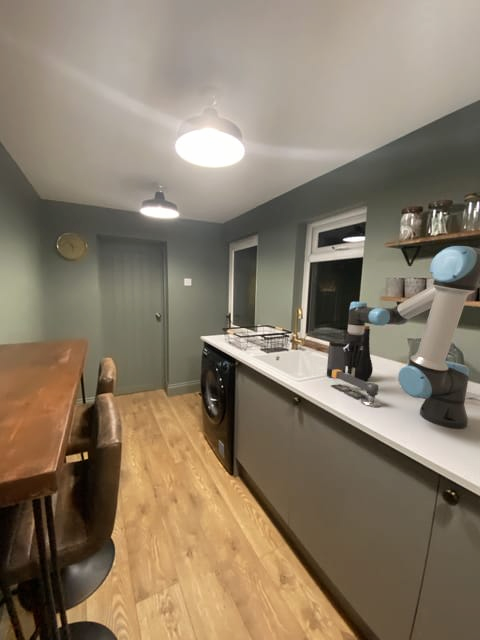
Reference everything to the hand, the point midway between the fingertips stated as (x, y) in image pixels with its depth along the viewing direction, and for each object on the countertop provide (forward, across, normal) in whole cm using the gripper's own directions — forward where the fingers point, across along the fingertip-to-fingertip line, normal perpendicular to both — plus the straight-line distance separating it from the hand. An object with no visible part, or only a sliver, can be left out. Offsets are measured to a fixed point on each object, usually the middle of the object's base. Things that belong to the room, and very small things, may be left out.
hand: (350, 379), depth 136 cm
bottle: (+5, -18, -10) cm, 21 cm away
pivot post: (+4, +4, +17) cm, 18 cm away
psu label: (+5, +5, -1) cm, 7 cm away
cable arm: (0, +5, +6) cm, 8 cm away
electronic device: (+5, -6, -17) cm, 19 cm away
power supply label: (+4, +5, +8) cm, 10 cm away
